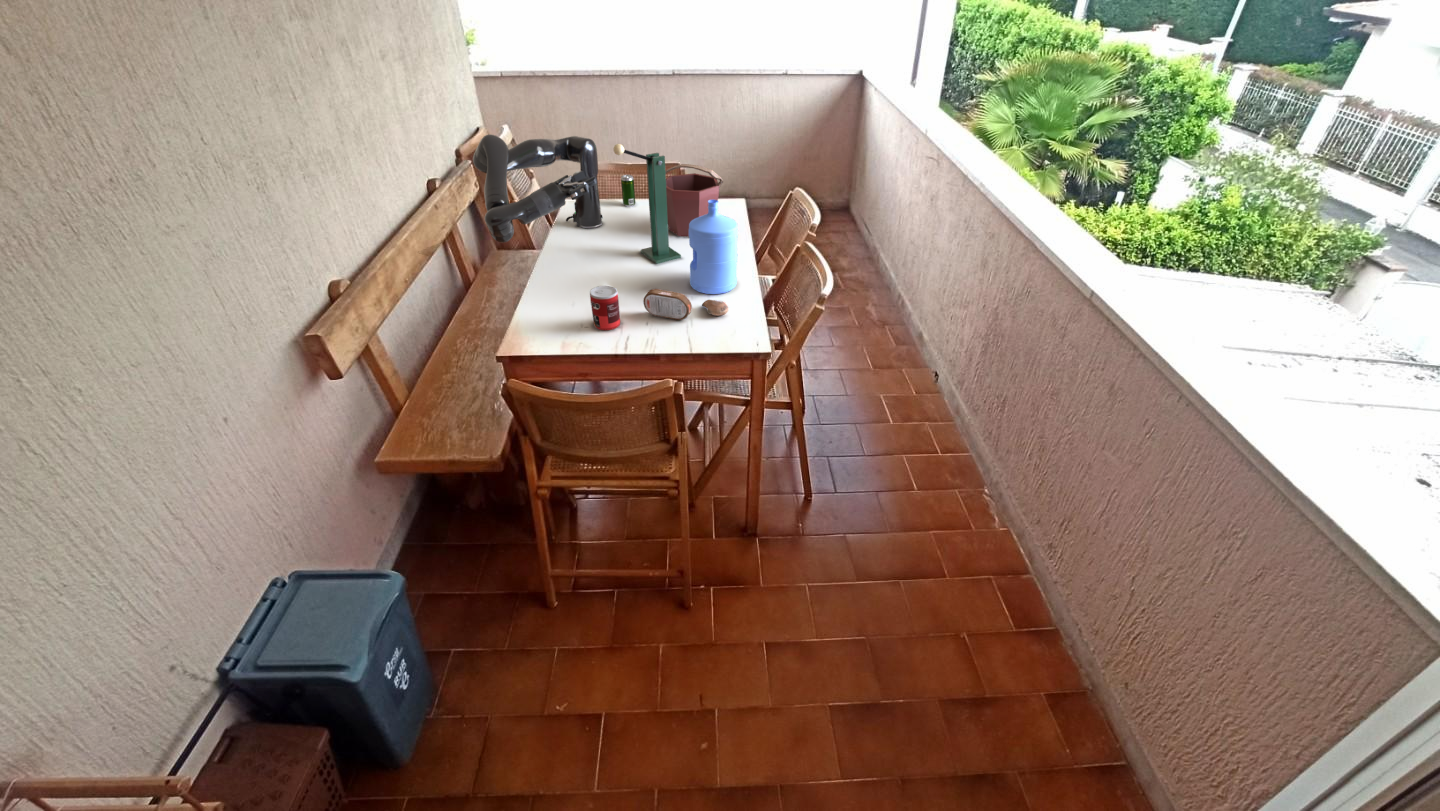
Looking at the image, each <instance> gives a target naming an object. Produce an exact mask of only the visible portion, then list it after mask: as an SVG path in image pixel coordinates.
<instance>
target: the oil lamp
mask: <svg viewBox="0 0 1440 811" xmlns="http://www.w3.org/2000/svg"><path fill="white" fill-rule="evenodd" d="M701 306H702V307H703V308H706V309H707V311H706V313H707V314H709V315H712V316H716V317H721V316H724V315H726V314H727V313H728V312H729V305H728V304H727V303H726V302H725V301H724V300H717V299H707V300H705V301H703V302H702V304H701Z"/></svg>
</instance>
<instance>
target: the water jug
mask: <svg viewBox="0 0 1440 811" xmlns="http://www.w3.org/2000/svg"><path fill="white" fill-rule="evenodd" d="M708 203H709V206H708V214H706V215H703V216H700V217H698V218H695V219H693V220H692V221H691V222H690V223H689V237H688V239H689V240H688V243H689V247H690V248H691V250H692V260H691V262H690V264H689V284H690V287H691V288H692V289H693V290H695V291H696V292H699V293H701V294H707V295H719V294H725V293H728V292H730V291H732V290H733V289H735V288H736V286H737V284H738V277H737V274H738V273H737V270H738V236H739V230H738V223H737V221H736V220H735V219H733V218H731V217H728V216H726V215H724V214H720V213H719V199H718V200H709V201H708Z"/></svg>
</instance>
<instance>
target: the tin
mask: <svg viewBox="0 0 1440 811" xmlns="http://www.w3.org/2000/svg"><path fill="white" fill-rule="evenodd" d="M642 302H643V306H644V309H645V310H646V312H648V313H649V314H650V315H652V316H653V317H659V318H665V319H669V320H675V321H683V320H685V319H686V318H687V317H688V316H689V315H690V314H691V312H692V309H693V306H692V302H691V300H690V299H689V297H688V296H686V295H685V294H683V293H681V292H676V291H670V290H667V289H666V290H665V289H659V288H652V289H649V290H648V291H647V292H646V294H645V295H644V297H643V300H642Z"/></svg>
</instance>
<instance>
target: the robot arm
mask: <svg viewBox="0 0 1440 811" xmlns="http://www.w3.org/2000/svg"><path fill="white" fill-rule="evenodd" d="M559 161H566V162H573V163H577V164H580V165H579V167H580V170H578V171H575V172H574V173H573V174H572V175H568V174H566V175H563V176H562V177H560V178H558V179H557V180H555V181H551V182H550V183H547V184H546V185H544V186H542V187H540V188H538V189H536V190H534V191H533V192H531V193H530V194H529V195H527V196H525V197H523V198H521V199H519V200H517V201H516V202H511V203H510V199H509V198H510V197H509V191H508V190H509V189H508V172H512V171H517V170H523V169H524V170H525V169H531V168H543V167H544V168H545V167H549V166H551V165H553V164H554V163H556V162H559ZM472 163H473V165H474V167H475V168H476V169H477V170H478V171H479V172H482V173H483V174H485V180H484V189H483V193H484V195H483V197H484V205H485V209H486V213H485V215H484V222H485V226H486V227H487V229H488V231H489V234H490V236H491V237H492V239H493V240H494V241H496V242H497V243H503V244H504V243H508V242H509V241H510V240H511V239H513V237H514V233H515V227H514V222H513V220H517V221H518V222H519V223H520V224H522V225H528V224H531V223H532V222H535V221H536V220H538V219H540V218H542V217H545V216H547V215H549V214H551V213H552V212H555V211H556V210H558V209H560V208H562V207H563V206H565V205H566V199H567V198H568V199H569V198H571V200H572V201H574V200H575V201H574V203H573V206H574V212H573V214H572V215H570V216H568V217H566V219H565V221H566V222H569V220H570V219H572V222H573V223H576V226H577V227H578V228H582V229H596V228H599V227H601V226H602V225H603V220H602V219H604V217H603V214H602V209H601V201H600V192H599V181H598V176H599V175H598V174H599V159H598V149H597V145H596V143H595V141H594V140H593V139H591V138H589V137H584V136H578V135H573V136H572V135H571V136H567V137H562V138H557V139H553V138H530V139H526V140H523V141H521V142H520V143H517V144H516V145H514V146H513V147H510V148H509V147H508V145H507V143H506V141H505V140H503V139H502V138H501V137H500V136H498V135H495V134H492V133H491V134H485V135H484V136H483V137H482V138H481V139H480V140H479V142H478V145H477V146H476V149H475V151H474V153H473V156H472Z"/></svg>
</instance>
